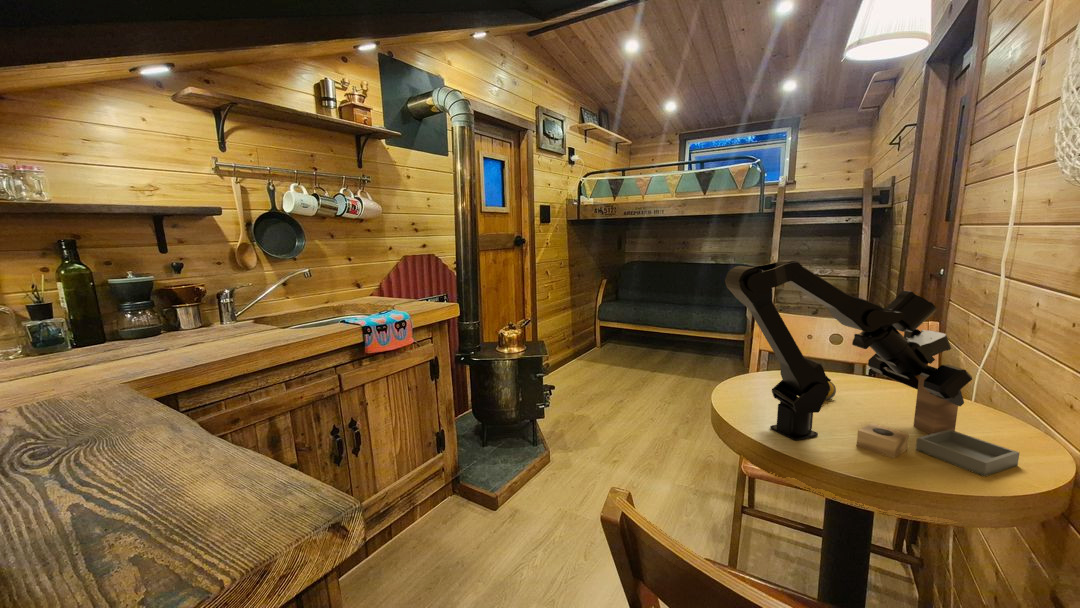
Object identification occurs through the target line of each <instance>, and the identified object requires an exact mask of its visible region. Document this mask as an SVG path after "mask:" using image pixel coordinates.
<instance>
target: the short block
mask: <svg viewBox="0 0 1080 608" xmlns="http://www.w3.org/2000/svg"><path fill="white" fill-rule="evenodd" d="M908 443H909V433H907V432H903V431H899V430H897V429H893V428H890V427H885V426H883V425H880V424H876V423H874V422H870V423H869V424H867V425H865V426H863V427H861V428H858V429H857V438H856V447H860V448H862V449H866V450H868V451H871V452H874V453H876V454H878V455H879V454H880V455H883V456H886V457H889V458H891V459H895V458H896V457H898V456H900V455H901V454H903V453H904V452H906V451H907V450H908V449H907V448H908Z"/></svg>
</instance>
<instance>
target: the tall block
mask: <svg viewBox="0 0 1080 608" xmlns="http://www.w3.org/2000/svg"><path fill="white" fill-rule="evenodd" d="M925 379H926V377H923V376H921V375H918V380H919V382H918V390H917V392H916V393H917V394H916V400H915V402H916V403H915V411H914V419H913V427H915V428H916V429H919V430H921V431H923V432H925V433H927V434H928V435H930V434H933V433H937V432H941V431H945V430H949V429H950V430H953V431H956V425H957V417H958V410H959V406H957V405H955V404H953V403H950V402H948V401H946V400H944V399H941V398H939V397H937V396H934V395H932V394H930V392H929V391H928V390H926V389H925V388H924V387H923V386H924V380H925Z"/></svg>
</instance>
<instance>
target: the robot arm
mask: <svg viewBox="0 0 1080 608" xmlns="http://www.w3.org/2000/svg"><path fill="white" fill-rule="evenodd" d="M786 283H787V284H788V285H790V286H791V287H793V288H794V289H796V290H798V291H800V292H801V293H803V295H804V294H805V295H806V296H807V297H809V298H810V299H812V300H814V301H816V302H818V303H819V304H820V305H822V306H824V308H826V309H827V310H828V311H829V313H830V315H831V316H832V317H833V318H834V319H835V320H837V322H838V323H840V324H841V325H842V326H844V327H848V328H851V329H855V330H859V331H861V332H859V333H854V335H853V336H854V337H853V339H852V343H851V344H852V346H854V347H857V348H859V349H860V348H861V349H863V350H867V349H868V348H870V349H872V351H873V352H874V355H872V356H871V357H870V358H869V359H868V362H867V363H868V364H867V366H868V367H869V368H870V369H871V370H872V371H873V372H876V373H877V374H878V373H879V374H880V375H882V376H884V377H887V378H889V379H891V380H893V381H896V382H897V383H898V382H899V383H901V384H903V385H906V386H908V387H910V388H912V389H915V390H917V391H918V382H919V378H917V376H919V375H921V376H923V377H926V379H925V380H924V386H923V387H924V388H925V389H926V390H928V391H929V392H930V394H932V395H934V396H937V397H939V398H941V399H944V400H946V401H948V402H950V403H953V404H955V405H957V406H958V407H962V406H963V405H964V404H965V401H964V397H963V393H962V389H963V388H965V386H966V385H967V384H969V383H970V382H971V381H972V380H973V376H972V375H971V374H970V373H969V372H968V371H967V370H966V369H965V368H962V367H957V366H955V365H951V364H941V365H940V366H939V367H933V366H931V365H928V364H932V363H933V362H934V361H935V360H936V358H934V356H936V355H937V356H938V355H939V354H942V353H943V352H947V351H950V350H951V349H952V345H951V343H950V341H949V338H948V336H947V334H946V333H944V332H940V331H934V330H930V329H929V330H928V329H927V330H925V329H922V330H919V327H920V326H921V325H922V324H923V323H924V322H925V321H927V320H928V319H929V318H930V317H931V316H932V315H933V314H935V312H936V311H937V307H936V306H935V304H934V303H933V302H932V301H929V300H927V299H926V298H924V297H921V296H919V295H917V294H915V293H914V292H913V291H911V290H902V291H901V292H900V293H899V294H898V295H897V296H896V297H895V299H893V300H892V301H891V302H890V303H889V304H888V305H887V306H886V307H883V306H881V305H880V304H877V303H874V302H872V301H870V300H866V299H863V298H861V297H857V296H854V295H851V294H848V293H846V292H845V291H843V290H841V289H839V287H837V286H835V285H833V284H832V283H830V282H828V281H827V280H825V279H824V278H822V277H821V276H819V275H817V274H815V273H814V272H812V271H810V270H809V269H807V268H806V267H804V266H803V265H802V264H801V263H800V262H799V261H796V260H784V259H782V260H778V261H774V262H770V263H767V264H761V265H755V266H745V265H743V266H742V265H739V266H738V265H737V266H735V267H732V268H731V269H730V270H729V271H728V272H727V274H726V277H725V279H724V284H725V286H726V288H727V289H728V290H729V291H730V292H731V294H732V295H733V296H734V297H735V298H736V299H737V301H739V302H740V303H741V304H742V305H743V306H745V308H747V309H748V311H749V313H750V314H751V316H752V317H753V318H754V320H755V322H756V324H757V326H758V327H759V329H760V331H761V333H762V335H763V336H764V338H765V340H766V341H767V343H768V344H769V346H770V348H771V350H772V351H773V353H774V354H775V357H776V359H777V360H778V362H779V364H780V375H781V379H782V380H780V381H779V382H778V383H777V384H776V385H775V386H774V387H772V388H771V393H772V396H773V398H774V399H775V400H777V401H779V403H778V404H777V418H776V424H772V425H770V427H769V429H771V430H772V431H775V432H777V433H779V434H781V435H783V436H785V437H787V438H790V439H791V440H793V441H800V440H806V439H810V438H814V437H818V436H819V433H818V431H817V432H816V431H814V430H812V429H813V419H814V413H816V414H817V413H820V411H821V409H822V408H823V405H824V404H825V401H826V400H825V399H826V397H827V396H828V393H829V391H830V385H829V383H828V381H830V382H832V379H830V378H829V377H828V375H827V374H826V372H825V369H824V367H823V366H822V364H820V363H819V362H818V361H814V360H812V359H810V358H807V357H805V356H804V354H803V353H802V351H801V350H800V347H799V346H798V344H797V342H796V341H795V339H794V338H793V336H792V334H791V332H790V331H789V329H788V327H787V325H786V323H785V321H784V319H783V318H782V316H781V315H780V313H779V311H778V309H777V308H776V306H775V304H774V302H773V288H776V287H779V286H781V285H783V284H786ZM901 332H902V333H903V332H904V333H903V334H901Z"/></svg>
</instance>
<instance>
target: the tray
mask: <svg viewBox="0 0 1080 608" xmlns="http://www.w3.org/2000/svg"><path fill="white" fill-rule="evenodd" d="M915 444H916V445H915V450H916V451H918V452H920V453H922V454H925V455H928V456H930V457H933V458H935V459H938V460H941V461H943V462H945V463H949V464H951V465H952V466H953V465H954V466H956V467H959V468H961V469H963V468H964V470H966V469H967V470H966V471H968V470H970V471H969V472H971V471H973V472H972V473H974V472H975V473H974V474H976V473H978V474H977V475H979V474H980V475H979V476H981V475H983V476H982V477H984V476H985V477H987V476H986V475H988V476H990V474H991V475H994V474H996V473H999V472H1002V471H1003V472H1004V471H1005V470H1007V469H1011V468H1014V467H1016V466H1018V465H1019V459H1020V458H1019V457H1020V452H1019V451H1017V450H1013V449H1010V448H1007V447H1004V446H1002V445H998V444H995V443H993V442H989V441H986V440H984V439H983V440H982V439H980V438H977V437H974V436H971V435H968V434H965V433H961V432H960V431H959V432H958V431H956V430H955V431H953V430H950V429H949V430H945V431H941V432H937V433H933V434H926V435H923V436H919V437H917V438H916V443H915ZM993 473H994V474H993Z"/></svg>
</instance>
